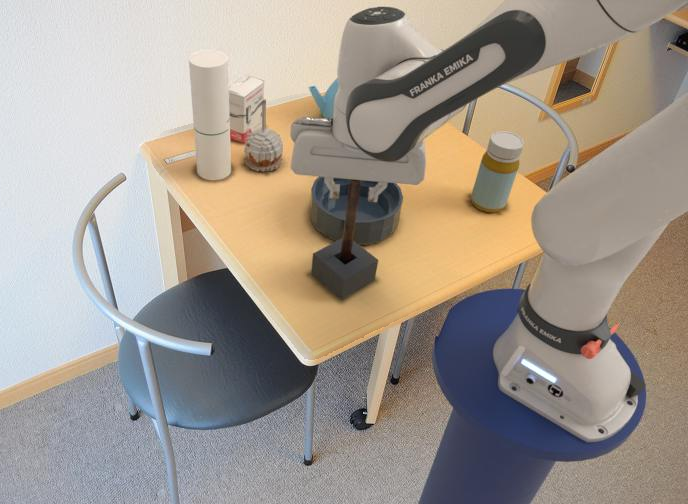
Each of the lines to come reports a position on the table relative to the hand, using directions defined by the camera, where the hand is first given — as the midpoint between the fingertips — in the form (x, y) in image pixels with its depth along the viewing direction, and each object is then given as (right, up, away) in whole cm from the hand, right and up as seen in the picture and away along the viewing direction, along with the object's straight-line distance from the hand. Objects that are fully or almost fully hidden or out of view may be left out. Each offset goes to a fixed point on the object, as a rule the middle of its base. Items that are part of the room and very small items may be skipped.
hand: (353, 198), depth 104 cm
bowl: (+3, -1, +24) cm, 25 cm away
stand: (-1, -13, +12) cm, 18 cm away
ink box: (-20, +19, +45) cm, 53 cm away
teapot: (+5, +24, +51) cm, 57 cm away
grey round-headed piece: (-16, +11, +37) cm, 41 cm away
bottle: (+30, +2, +29) cm, 42 cm away
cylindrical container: (-26, +9, +34) cm, 44 cm away
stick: (-1, -13, +12) cm, 18 cm away
